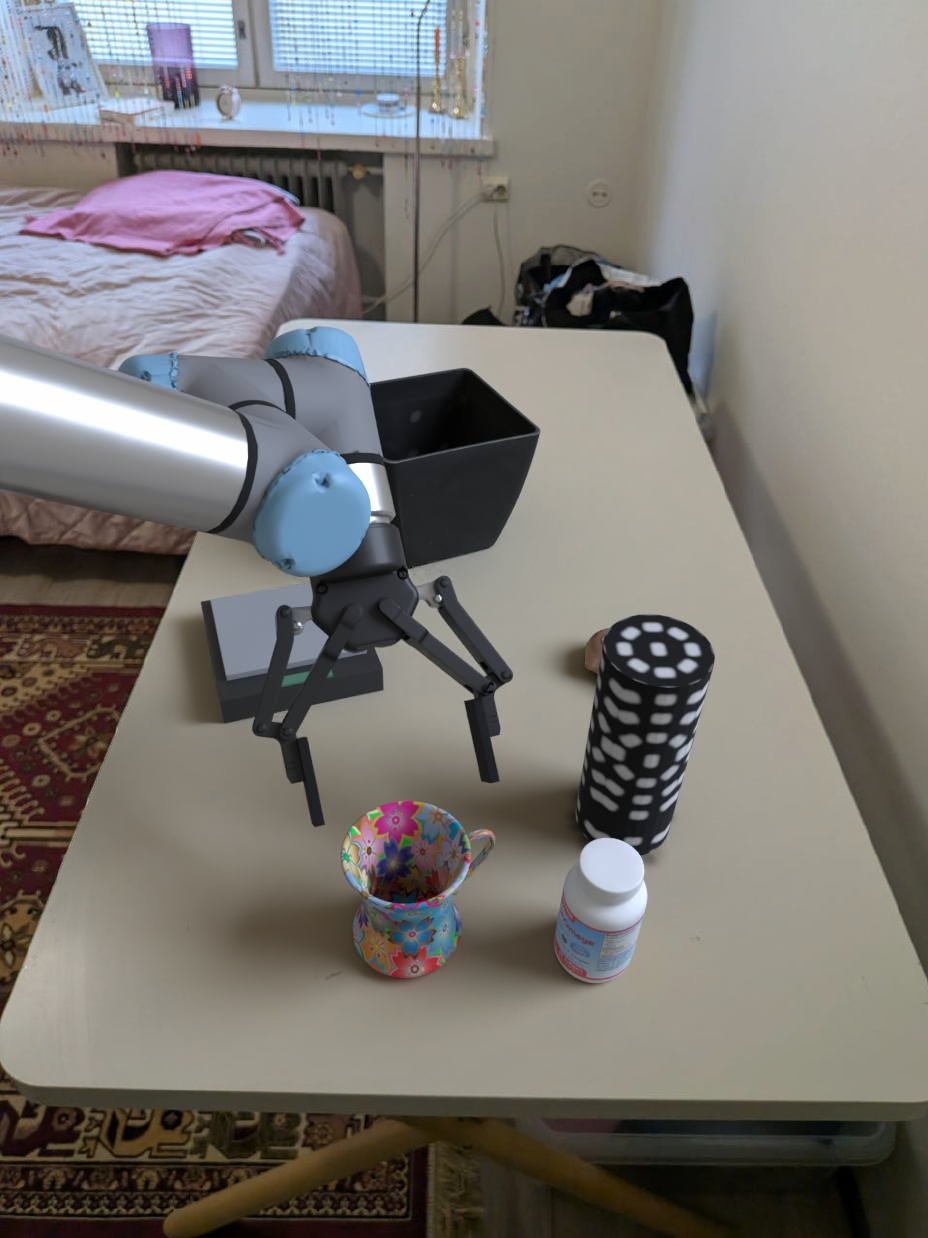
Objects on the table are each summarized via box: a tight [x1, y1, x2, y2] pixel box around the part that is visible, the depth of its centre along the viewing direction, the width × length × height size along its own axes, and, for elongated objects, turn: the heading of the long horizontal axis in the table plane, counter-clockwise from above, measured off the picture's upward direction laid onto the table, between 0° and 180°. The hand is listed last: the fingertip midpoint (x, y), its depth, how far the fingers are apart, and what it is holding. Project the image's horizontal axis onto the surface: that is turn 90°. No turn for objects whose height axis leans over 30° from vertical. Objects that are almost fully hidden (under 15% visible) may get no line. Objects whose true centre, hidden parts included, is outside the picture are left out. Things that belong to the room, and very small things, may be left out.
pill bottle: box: [553, 838, 648, 984], centre depth 69 cm, size 6×6×11 cm
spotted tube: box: [575, 613, 716, 856], centre depth 76 cm, size 8×8×20 cm
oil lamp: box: [584, 627, 610, 675], centre depth 96 cm, size 9×4×8 cm
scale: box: [200, 581, 385, 724], centre depth 96 cm, size 16×16×4 cm
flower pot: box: [369, 367, 541, 568], centre depth 111 cm, size 19×19×17 cm
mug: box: [340, 800, 496, 979], centre depth 70 cm, size 12×9×11 cm
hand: (406, 802), depth 70 cm, fingers open, 13 cm apart
